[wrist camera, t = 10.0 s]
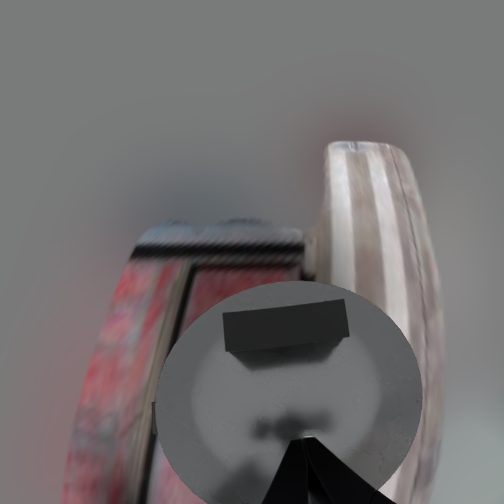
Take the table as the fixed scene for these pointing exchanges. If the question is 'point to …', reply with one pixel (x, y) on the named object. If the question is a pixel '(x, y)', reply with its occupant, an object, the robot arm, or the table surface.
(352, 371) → the cooker lid
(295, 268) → the table surface
